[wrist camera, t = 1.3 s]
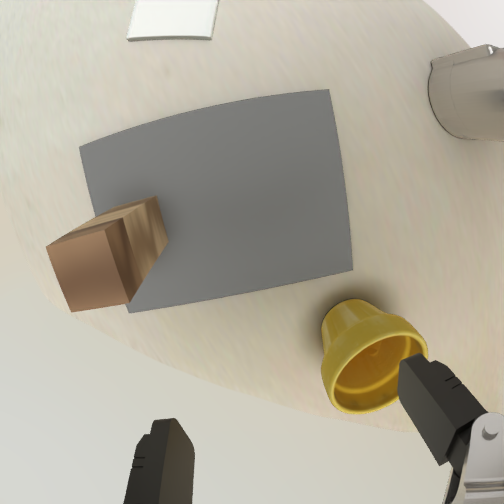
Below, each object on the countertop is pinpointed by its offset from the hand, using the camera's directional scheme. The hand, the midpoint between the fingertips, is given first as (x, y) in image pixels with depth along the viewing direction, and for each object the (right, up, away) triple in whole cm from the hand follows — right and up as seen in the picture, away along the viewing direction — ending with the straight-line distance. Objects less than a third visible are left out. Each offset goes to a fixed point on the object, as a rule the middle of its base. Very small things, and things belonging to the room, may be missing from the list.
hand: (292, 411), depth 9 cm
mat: (-4, +10, +18) cm, 21 cm away
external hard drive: (-8, +31, +11) cm, 34 cm away
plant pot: (+10, -3, +24) cm, 26 cm away
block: (-12, +8, +18) cm, 23 cm away
